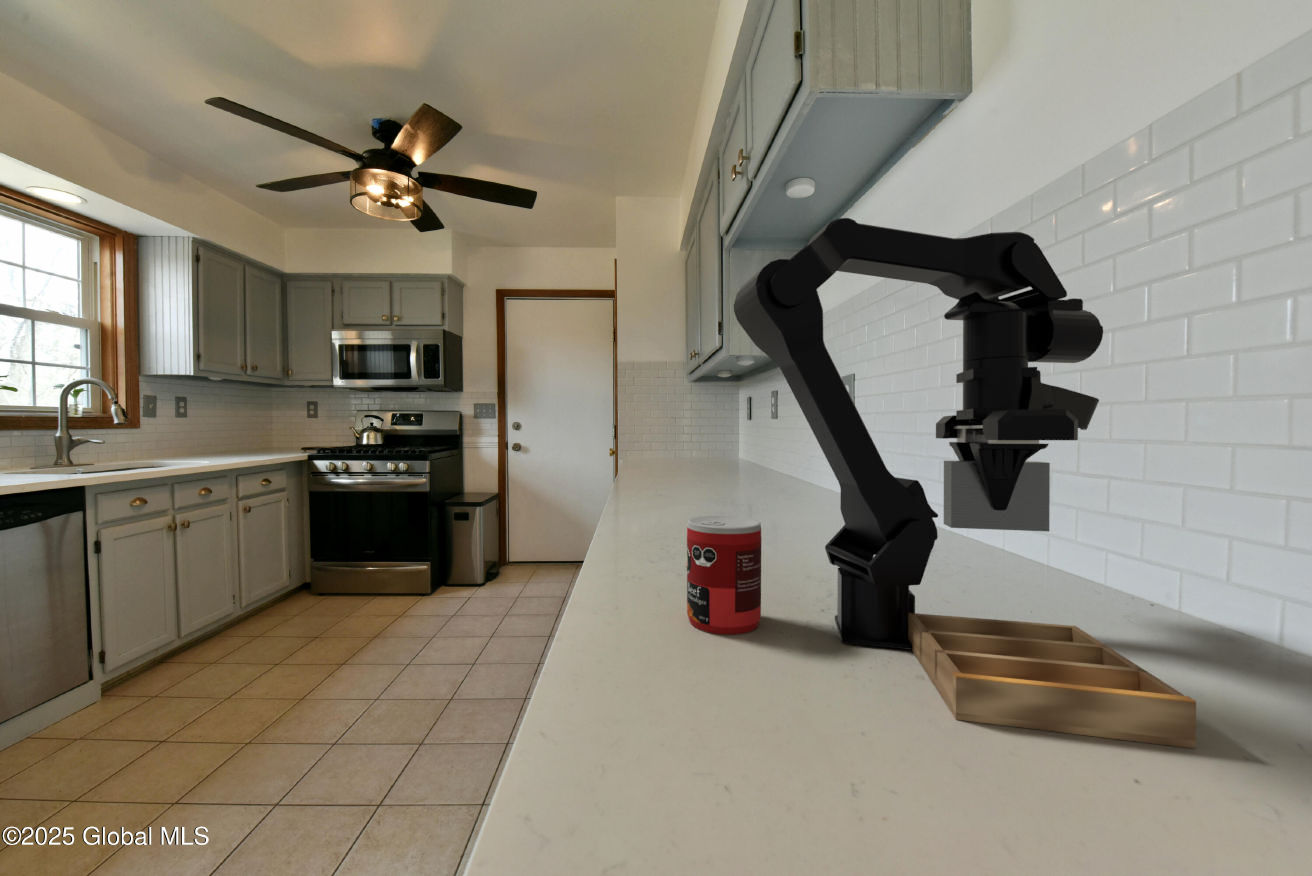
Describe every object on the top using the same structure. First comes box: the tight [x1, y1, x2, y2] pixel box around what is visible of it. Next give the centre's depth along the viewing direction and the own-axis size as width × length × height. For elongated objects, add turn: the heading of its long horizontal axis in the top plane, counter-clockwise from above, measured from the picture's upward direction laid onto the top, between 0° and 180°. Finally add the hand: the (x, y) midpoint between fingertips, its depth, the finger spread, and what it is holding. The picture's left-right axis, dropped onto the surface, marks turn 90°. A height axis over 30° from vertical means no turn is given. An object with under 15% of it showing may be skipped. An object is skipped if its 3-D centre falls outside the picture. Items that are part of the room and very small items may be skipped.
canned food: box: [686, 515, 762, 636], centre depth 54 cm, size 8×8×11 cm
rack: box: [908, 612, 1197, 749], centre depth 40 cm, size 14×13×3 cm
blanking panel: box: [943, 460, 1051, 532], centre depth 52 cm, size 9×2×7 cm, turn 77°
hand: (994, 508), depth 52 cm, fingers closed on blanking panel, 2 cm apart
